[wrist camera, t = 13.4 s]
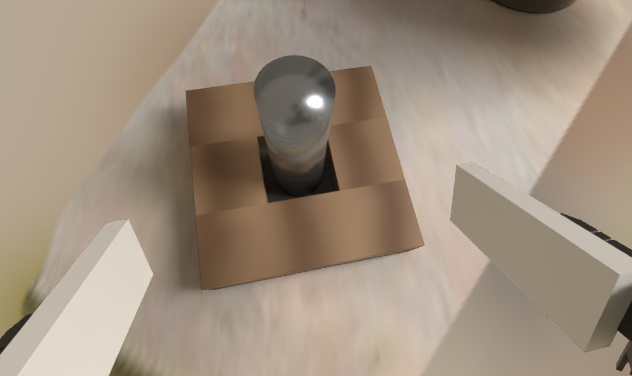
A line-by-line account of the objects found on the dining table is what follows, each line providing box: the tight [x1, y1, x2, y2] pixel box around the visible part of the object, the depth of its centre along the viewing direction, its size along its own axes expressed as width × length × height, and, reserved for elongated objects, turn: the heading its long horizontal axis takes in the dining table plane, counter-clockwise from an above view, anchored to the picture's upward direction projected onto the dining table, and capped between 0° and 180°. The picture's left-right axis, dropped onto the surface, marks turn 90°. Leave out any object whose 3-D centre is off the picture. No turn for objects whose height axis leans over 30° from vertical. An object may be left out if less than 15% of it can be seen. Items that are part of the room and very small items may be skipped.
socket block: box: [186, 66, 424, 290], centre depth 26 cm, size 16×16×4 cm
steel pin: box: [254, 55, 336, 197], centre depth 21 cm, size 4×4×12 cm
